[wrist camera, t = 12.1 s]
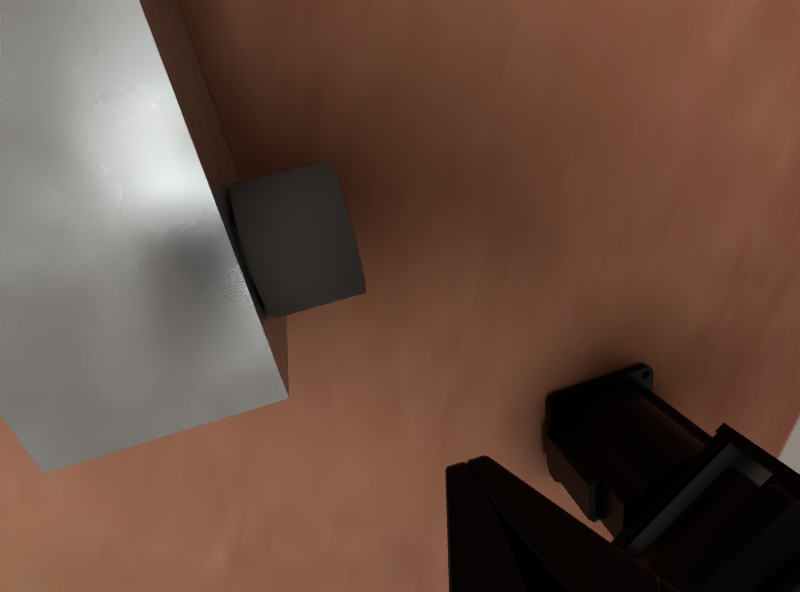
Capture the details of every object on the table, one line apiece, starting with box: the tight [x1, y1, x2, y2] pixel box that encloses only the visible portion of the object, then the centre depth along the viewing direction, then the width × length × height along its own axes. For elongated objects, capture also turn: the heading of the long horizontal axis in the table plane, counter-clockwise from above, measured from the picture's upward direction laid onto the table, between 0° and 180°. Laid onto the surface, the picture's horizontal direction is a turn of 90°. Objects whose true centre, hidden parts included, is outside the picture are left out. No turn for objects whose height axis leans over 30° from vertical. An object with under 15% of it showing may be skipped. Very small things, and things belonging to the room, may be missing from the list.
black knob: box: [230, 160, 366, 318], centre depth 13 cm, size 12×4×4 cm, turn 101°
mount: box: [0, 0, 289, 474], centre depth 12 cm, size 7×18×6 cm, turn 11°
